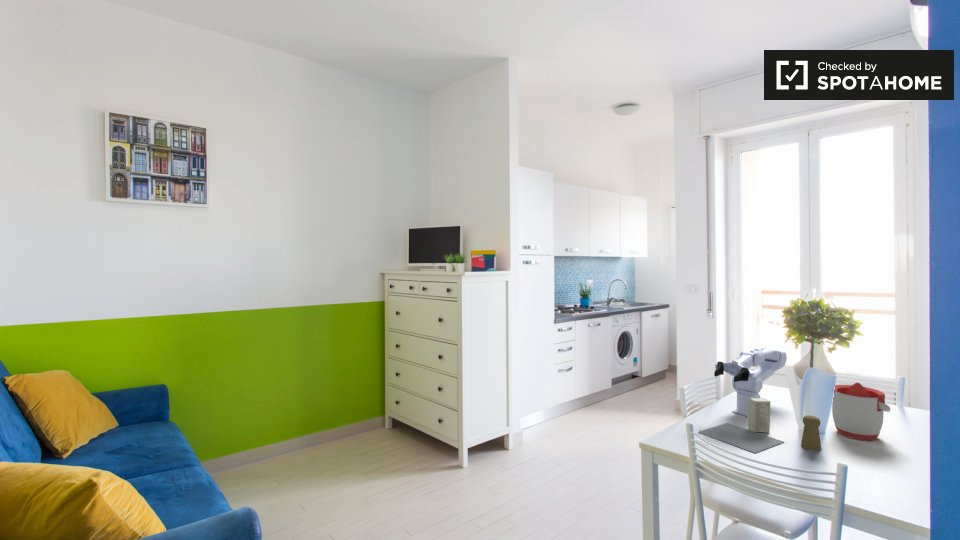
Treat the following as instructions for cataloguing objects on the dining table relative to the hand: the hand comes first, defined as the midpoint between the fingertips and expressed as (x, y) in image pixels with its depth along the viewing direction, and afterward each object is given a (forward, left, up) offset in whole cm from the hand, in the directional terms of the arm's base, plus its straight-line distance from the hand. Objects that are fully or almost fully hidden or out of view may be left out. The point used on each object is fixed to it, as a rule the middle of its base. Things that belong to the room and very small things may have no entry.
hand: (724, 376), depth 189 cm
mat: (+7, +11, -19) cm, 23 cm away
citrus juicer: (-32, +33, -20) cm, 50 cm away
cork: (-6, +29, -20) cm, 36 cm away
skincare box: (-5, +11, -19) cm, 23 cm away
